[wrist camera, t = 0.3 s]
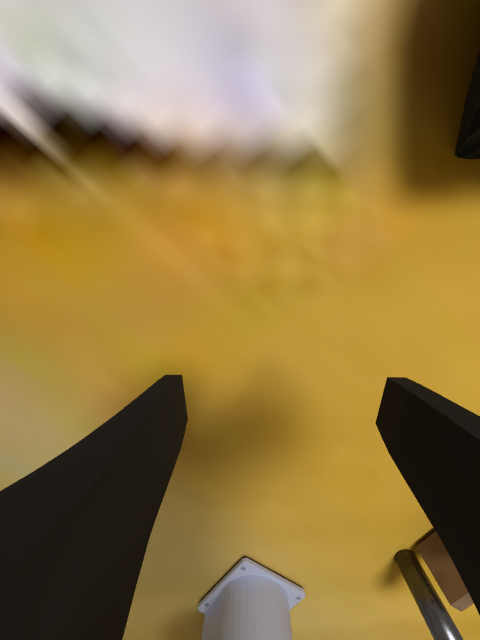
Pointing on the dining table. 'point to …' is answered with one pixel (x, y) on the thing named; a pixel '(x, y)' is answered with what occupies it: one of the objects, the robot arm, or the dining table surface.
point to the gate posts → (426, 597)
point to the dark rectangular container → (471, 120)
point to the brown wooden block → (445, 572)
